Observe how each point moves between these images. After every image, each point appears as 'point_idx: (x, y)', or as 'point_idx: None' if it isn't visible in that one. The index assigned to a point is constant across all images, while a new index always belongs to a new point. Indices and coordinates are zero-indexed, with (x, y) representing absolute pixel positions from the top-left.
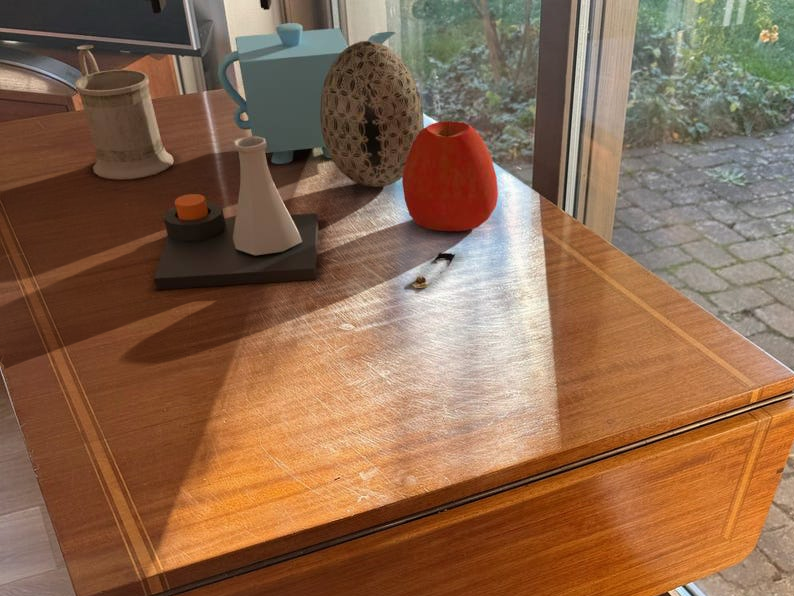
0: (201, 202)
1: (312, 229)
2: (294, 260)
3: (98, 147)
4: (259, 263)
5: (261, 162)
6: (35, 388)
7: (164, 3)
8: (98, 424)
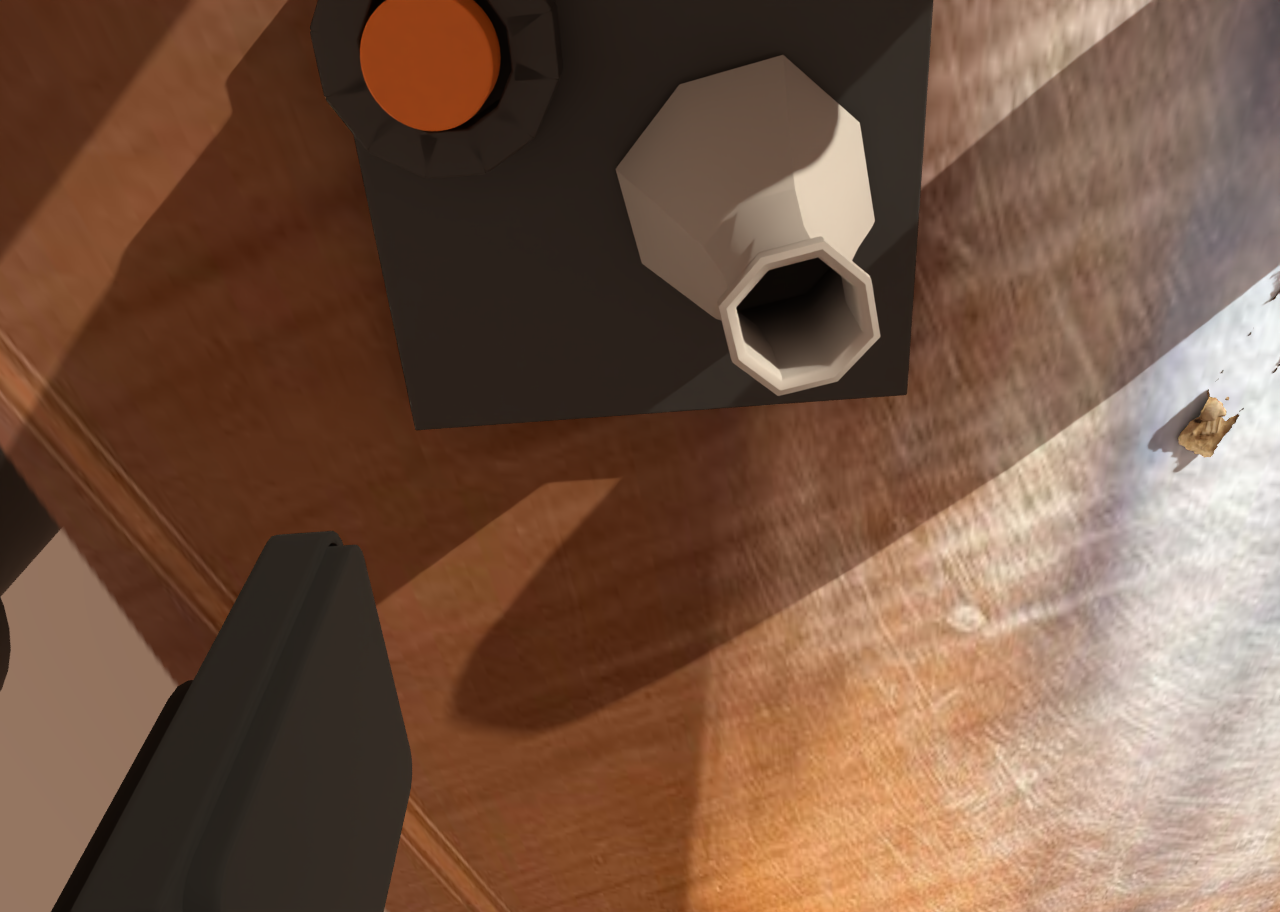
0: (486, 96)
1: (912, 83)
2: None
3: None
4: None
5: (828, 326)
6: None
7: (370, 618)
8: (488, 888)
